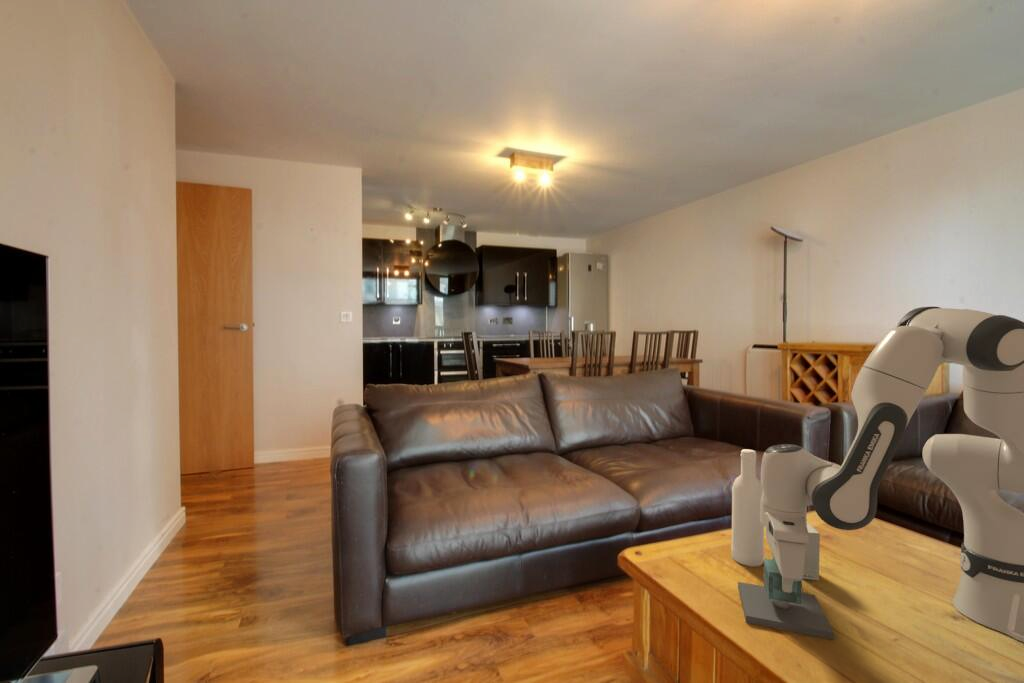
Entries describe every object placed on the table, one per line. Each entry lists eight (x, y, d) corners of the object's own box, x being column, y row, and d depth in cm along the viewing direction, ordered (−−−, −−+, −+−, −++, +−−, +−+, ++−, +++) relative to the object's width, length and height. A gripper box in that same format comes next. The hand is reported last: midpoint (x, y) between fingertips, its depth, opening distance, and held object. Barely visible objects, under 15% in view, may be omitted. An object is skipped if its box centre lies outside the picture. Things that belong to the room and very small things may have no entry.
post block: (814, 601, 106) (815, 562, 106) (833, 639, 93) (834, 596, 92) (738, 587, 111) (738, 551, 111) (745, 622, 98) (746, 581, 98)
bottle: (724, 556, 127) (725, 448, 126) (743, 550, 130) (744, 445, 129) (751, 569, 120) (752, 456, 119) (770, 562, 123) (771, 452, 122)
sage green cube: (794, 588, 104) (794, 562, 104) (801, 604, 98) (801, 577, 98) (763, 583, 106) (764, 558, 106) (768, 598, 100) (769, 571, 100)
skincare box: (819, 581, 114) (820, 533, 114) (800, 579, 115) (801, 532, 115) (809, 568, 120) (809, 523, 120) (791, 567, 121) (792, 522, 121)
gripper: (759, 499, 112) (758, 555, 113) (775, 534, 93) (774, 601, 94) (788, 502, 110) (787, 559, 111) (811, 539, 91) (810, 608, 91)
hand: (781, 579), depth 102 cm, fingers open, 8 cm apart
